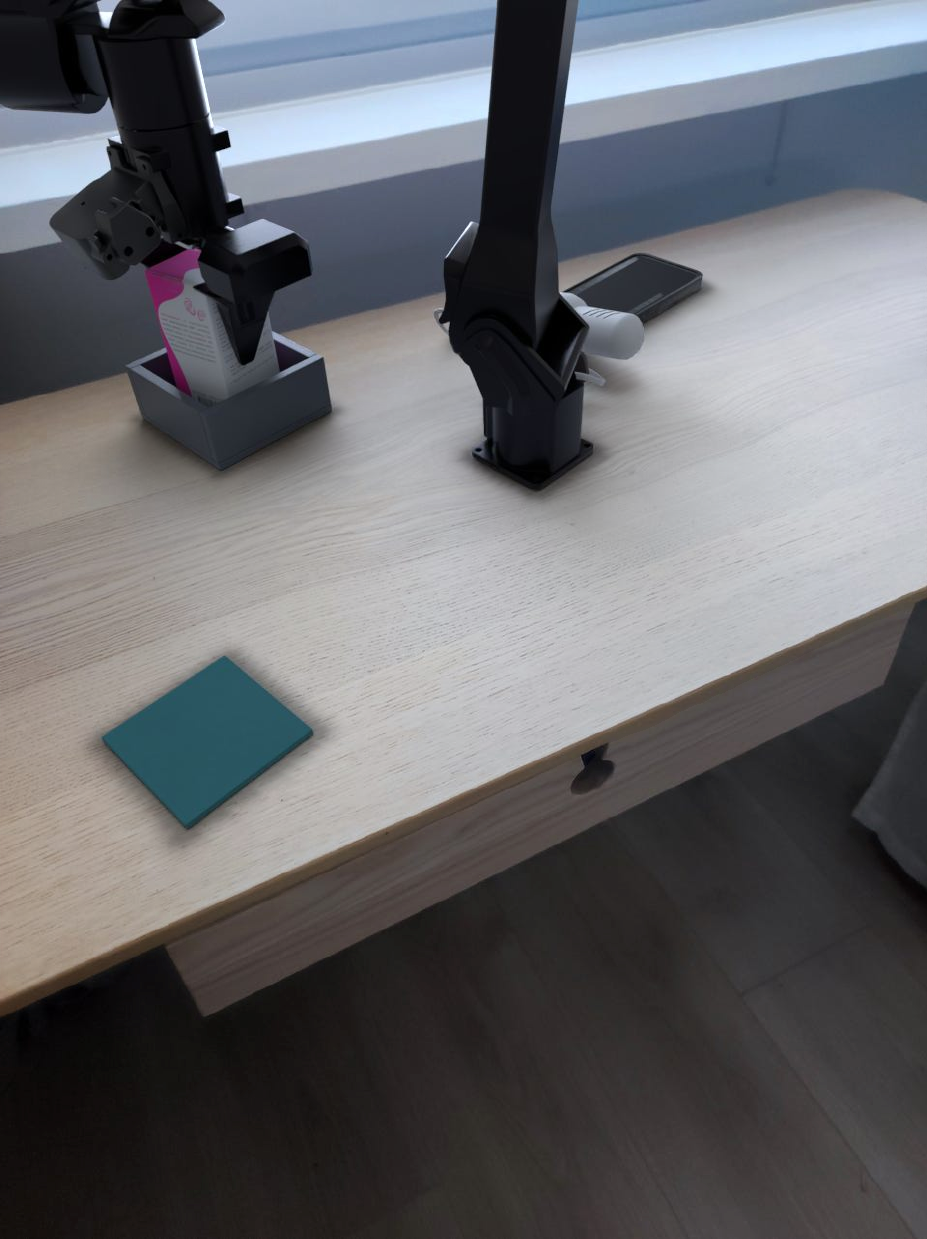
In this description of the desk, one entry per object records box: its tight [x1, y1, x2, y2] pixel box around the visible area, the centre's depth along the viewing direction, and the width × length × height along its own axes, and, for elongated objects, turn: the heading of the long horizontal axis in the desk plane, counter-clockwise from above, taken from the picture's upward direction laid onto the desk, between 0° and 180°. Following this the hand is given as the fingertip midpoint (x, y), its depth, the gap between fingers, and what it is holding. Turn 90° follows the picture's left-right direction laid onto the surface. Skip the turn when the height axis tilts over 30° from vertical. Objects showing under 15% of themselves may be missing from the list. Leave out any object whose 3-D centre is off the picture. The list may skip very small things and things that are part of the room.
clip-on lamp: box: [433, 291, 646, 387], centre depth 72 cm, size 12×6×18 cm
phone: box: [561, 252, 704, 324], centre depth 81 cm, size 8×1×15 cm
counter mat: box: [101, 654, 314, 830], centre depth 48 cm, size 8×8×1 cm
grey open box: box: [124, 330, 333, 471], centre depth 69 cm, size 11×11×5 cm
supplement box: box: [144, 249, 280, 408], centre depth 66 cm, size 6×6×12 cm
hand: (220, 348), depth 67 cm, fingers closed on supplement box, 6 cm apart
